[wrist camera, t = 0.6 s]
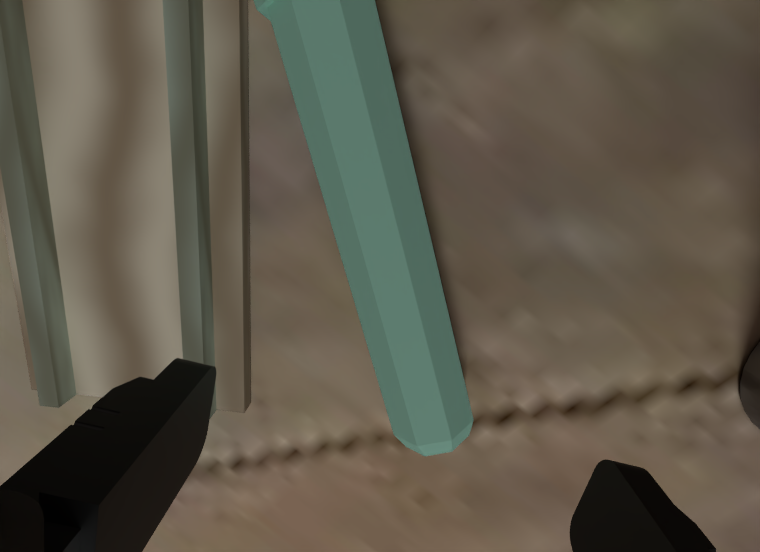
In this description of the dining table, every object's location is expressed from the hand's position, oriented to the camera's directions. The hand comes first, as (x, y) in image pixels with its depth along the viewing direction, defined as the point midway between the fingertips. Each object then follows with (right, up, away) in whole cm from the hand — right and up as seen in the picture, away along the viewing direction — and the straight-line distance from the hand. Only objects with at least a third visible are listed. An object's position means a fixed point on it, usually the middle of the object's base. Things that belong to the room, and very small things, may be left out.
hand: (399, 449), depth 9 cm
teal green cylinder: (0, +6, +17) cm, 18 cm away
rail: (-15, +7, +17) cm, 24 cm away
